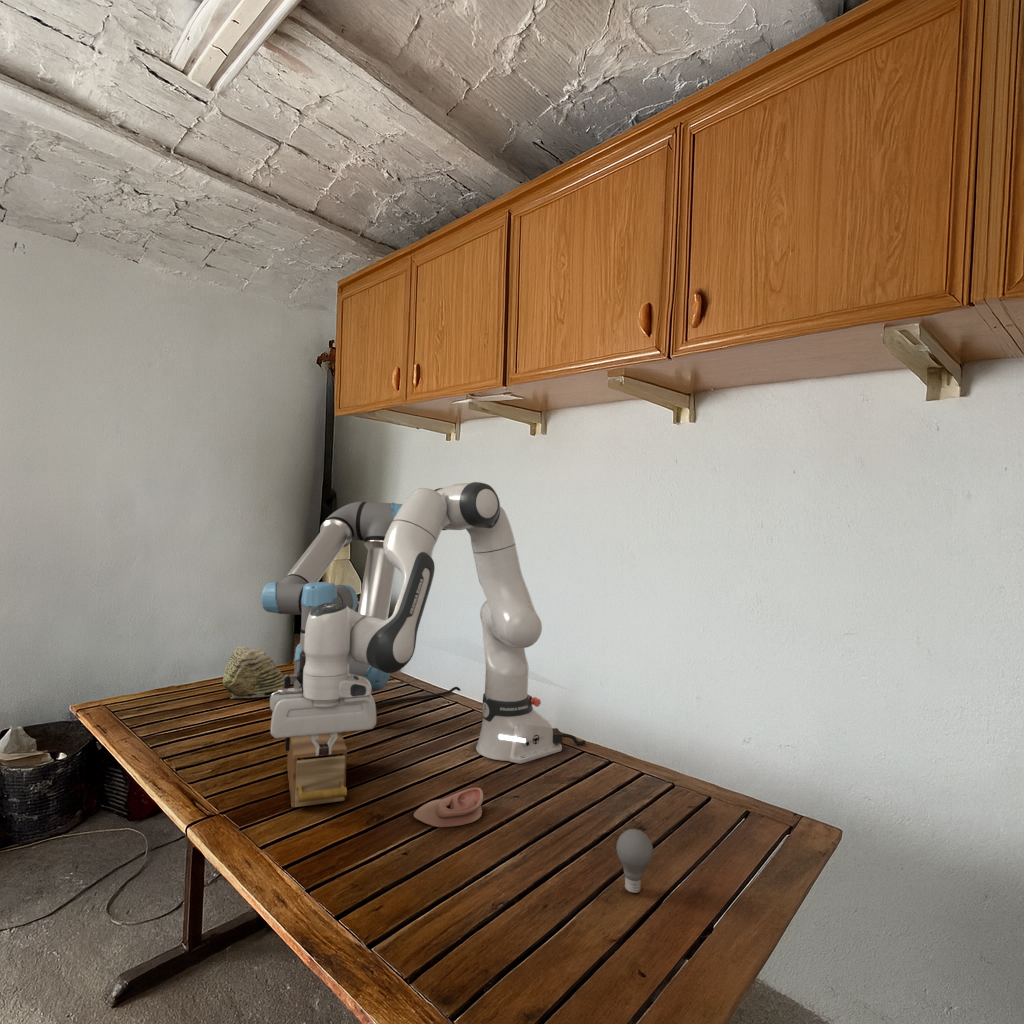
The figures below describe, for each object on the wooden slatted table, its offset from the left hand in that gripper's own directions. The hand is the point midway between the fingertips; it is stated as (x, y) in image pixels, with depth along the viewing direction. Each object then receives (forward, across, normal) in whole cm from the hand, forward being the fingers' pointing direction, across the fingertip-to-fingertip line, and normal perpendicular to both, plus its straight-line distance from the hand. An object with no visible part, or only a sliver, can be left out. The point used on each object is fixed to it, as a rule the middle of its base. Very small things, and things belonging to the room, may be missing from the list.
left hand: (313, 746), depth 145 cm
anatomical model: (+6, +24, -28) cm, 38 cm away
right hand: (-6, 0, -20) cm, 21 cm away
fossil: (+6, -12, +62) cm, 63 cm away
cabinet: (+6, 0, -6) cm, 9 cm away
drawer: (+5, 0, -11) cm, 12 cm away
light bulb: (+6, +46, -62) cm, 77 cm away
